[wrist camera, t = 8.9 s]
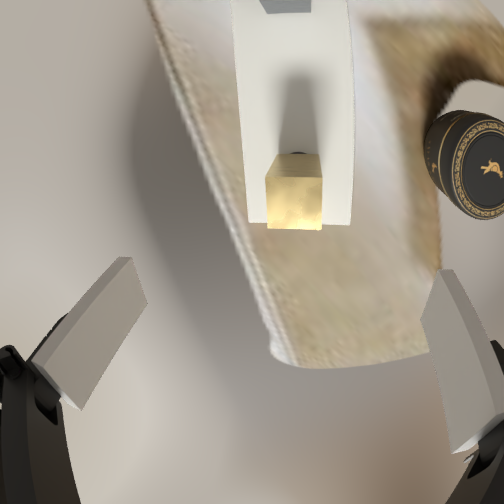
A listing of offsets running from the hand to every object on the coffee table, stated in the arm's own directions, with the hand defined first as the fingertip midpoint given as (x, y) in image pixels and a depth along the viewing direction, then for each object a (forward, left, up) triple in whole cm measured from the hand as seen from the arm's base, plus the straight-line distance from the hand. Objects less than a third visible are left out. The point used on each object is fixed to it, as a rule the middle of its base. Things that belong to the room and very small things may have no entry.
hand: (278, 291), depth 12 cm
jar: (-3, +18, -21) cm, 28 cm away
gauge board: (-8, 0, -21) cm, 22 cm away
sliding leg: (0, 0, -19) cm, 19 cm away
